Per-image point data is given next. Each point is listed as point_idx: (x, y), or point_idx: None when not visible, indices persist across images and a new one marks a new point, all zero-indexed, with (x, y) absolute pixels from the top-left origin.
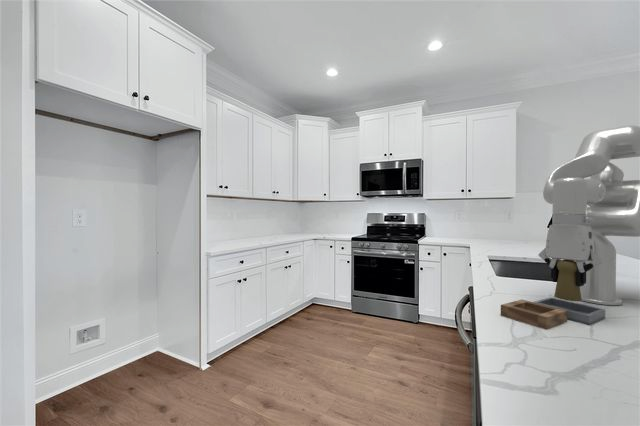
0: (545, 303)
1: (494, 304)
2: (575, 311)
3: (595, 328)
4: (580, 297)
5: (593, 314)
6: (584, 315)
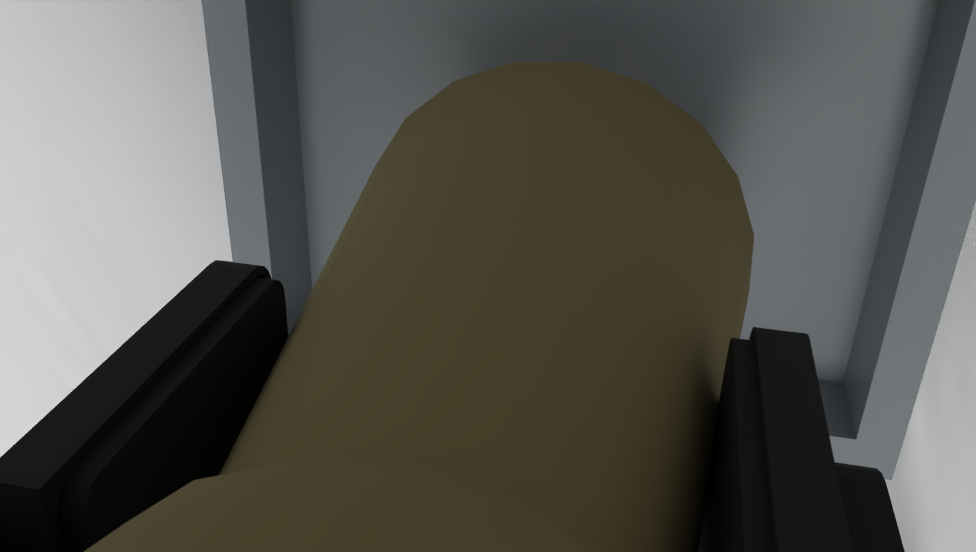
0: (280, 116)
1: (9, 428)
2: (636, 2)
3: (934, 454)
4: (744, 302)
5: (925, 366)
6: (834, 461)
